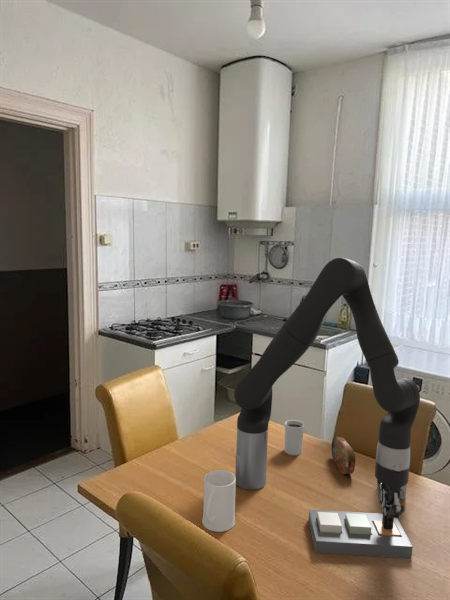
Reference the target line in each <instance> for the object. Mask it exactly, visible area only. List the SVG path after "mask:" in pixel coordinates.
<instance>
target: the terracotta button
mask: <svg viewBox="0 0 450 600" xmlns="http://www.w3.org/2000/svg"><path fill="white" fill-rule="evenodd" d="M373 524H374V527H375V529H376V531H377V533H378V536H394V537H401V534H400V533H399V531H398V529H397V527H396V525H395V523H394V522H393V529H384V527H383V525H382V521H374V520H373Z"/></svg>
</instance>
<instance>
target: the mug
mask: <svg viewBox="0 0 450 600" xmlns="http://www.w3.org/2000/svg"><path fill="white" fill-rule="evenodd" d="M236 487H237V486H236V477H235V473H234V472H233V473H232V471H228V470H224V469H215V470H211V471H208V472H207V473H206V474H205V475H204V477H203V509H202V510H203V511H202V512H203V513H202V514H203V515H202V518H201V519H202V521H201V522H202V525H203V526H204V528H205V529H207V530H209V531H212V532H215V533H216V532H217V533H222V532H226V531H230V530H231V529H232V528H234V526H235V524H236V517H235V515H236V514H235V513H236Z"/></svg>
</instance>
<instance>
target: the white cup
mask: <svg viewBox="0 0 450 600" xmlns="http://www.w3.org/2000/svg"><path fill="white" fill-rule="evenodd" d="M304 431H305V424H304V422H303V421H301V420H298V419H297V420H296V419H289V420H286V421H285V422H284V452H285V453H286V454H287V453H288V454H287V455H290V456H299V455H301V454H302V452H303V451H302V450H303V441H304ZM300 453H301V454H300Z"/></svg>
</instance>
